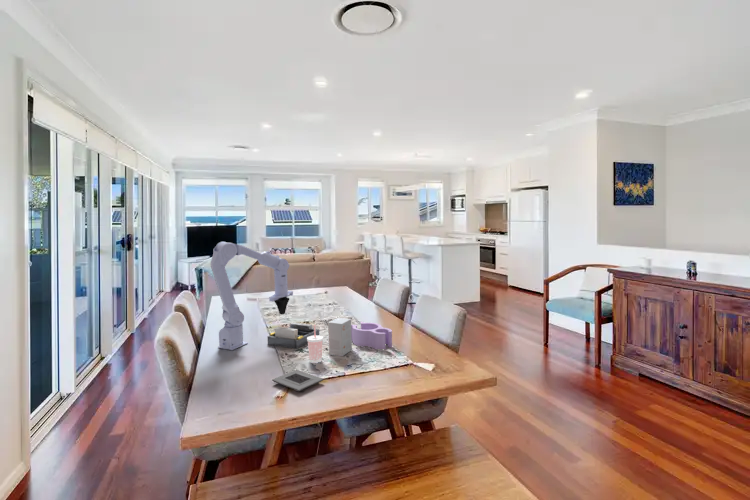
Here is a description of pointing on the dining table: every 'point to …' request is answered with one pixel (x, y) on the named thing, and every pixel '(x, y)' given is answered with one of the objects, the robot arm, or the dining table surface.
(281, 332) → the block
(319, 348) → the beverage cup
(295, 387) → the grey picture frame
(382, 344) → the clip
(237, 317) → the robot arm
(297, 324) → the rack
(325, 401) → the dining table surface
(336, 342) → the small box
